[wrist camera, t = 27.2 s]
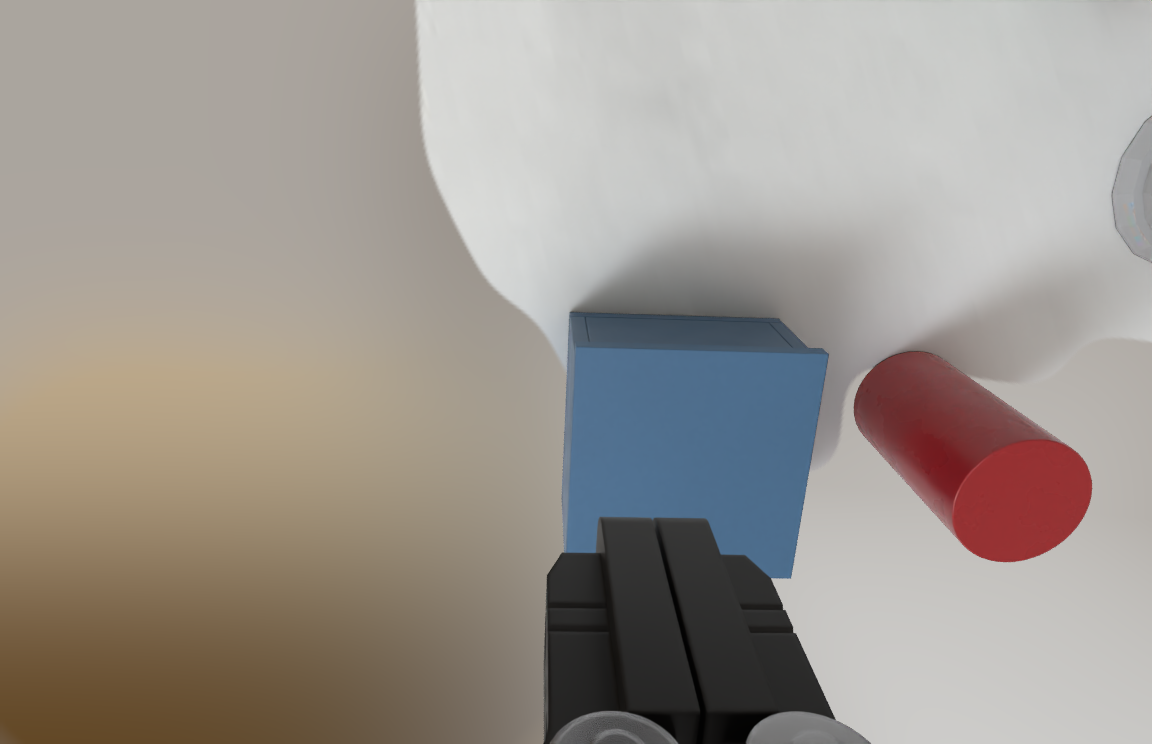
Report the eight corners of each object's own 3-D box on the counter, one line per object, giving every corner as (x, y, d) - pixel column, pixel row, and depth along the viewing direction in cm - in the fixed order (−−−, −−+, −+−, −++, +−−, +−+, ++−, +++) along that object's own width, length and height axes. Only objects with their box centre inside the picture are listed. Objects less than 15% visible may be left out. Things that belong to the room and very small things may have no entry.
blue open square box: (569, 311, 42) (574, 353, 35) (779, 318, 42) (820, 360, 36) (561, 498, 46) (564, 565, 39) (752, 501, 46) (785, 568, 40)
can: (863, 349, 43) (970, 438, 32) (970, 352, 43) (1110, 441, 33) (844, 448, 45) (938, 561, 35) (946, 450, 46) (1070, 563, 35)
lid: (574, 341, 35) (575, 346, 34) (823, 348, 36) (829, 354, 35) (564, 566, 39) (565, 576, 39) (786, 569, 40) (791, 578, 39)
